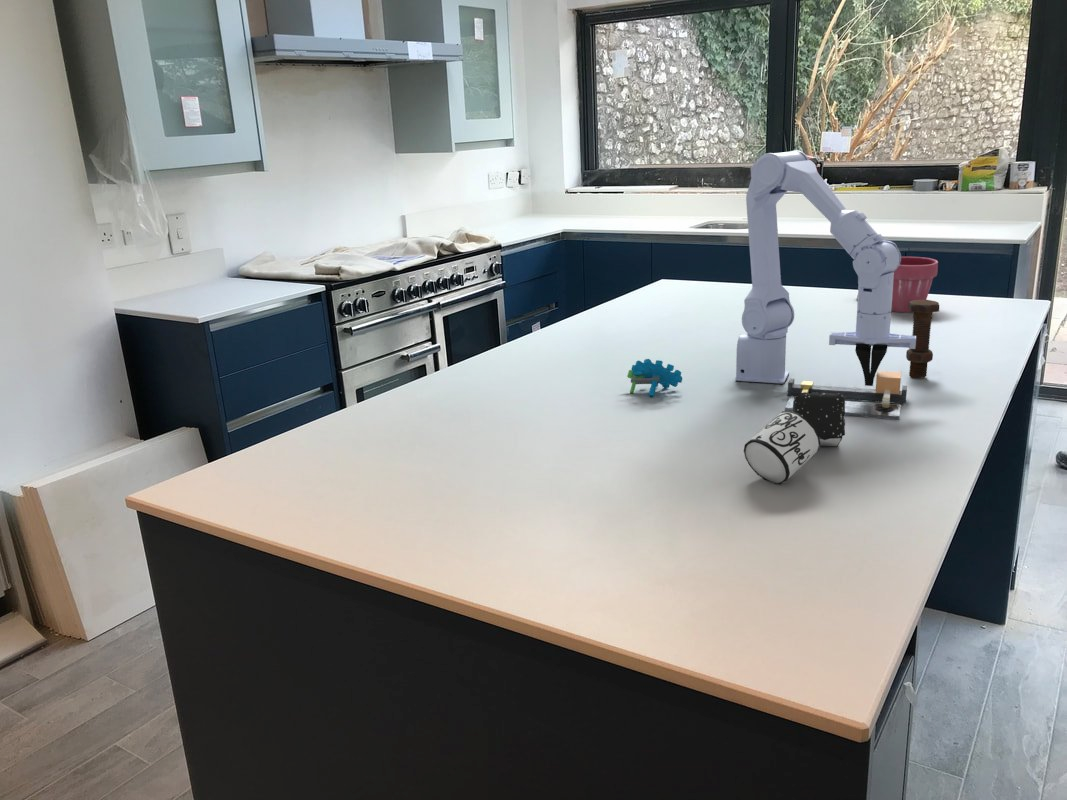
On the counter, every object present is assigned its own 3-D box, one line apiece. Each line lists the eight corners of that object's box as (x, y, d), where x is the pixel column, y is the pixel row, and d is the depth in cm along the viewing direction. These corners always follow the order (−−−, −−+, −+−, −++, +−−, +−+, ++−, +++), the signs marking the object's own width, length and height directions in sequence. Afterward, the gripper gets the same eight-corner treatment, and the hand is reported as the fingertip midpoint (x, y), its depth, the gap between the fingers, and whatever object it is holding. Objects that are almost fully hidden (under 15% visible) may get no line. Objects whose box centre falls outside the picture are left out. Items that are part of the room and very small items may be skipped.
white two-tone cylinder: (802, 499, 122) (805, 431, 119) (735, 485, 128) (736, 420, 125) (859, 442, 141) (863, 383, 138) (799, 432, 147) (801, 375, 144)
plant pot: (943, 313, 224) (948, 263, 220) (887, 316, 224) (891, 265, 220) (920, 302, 237) (924, 255, 233) (868, 304, 238) (871, 257, 234)
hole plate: (784, 410, 158) (784, 406, 157) (789, 400, 163) (790, 396, 163) (899, 419, 150) (899, 415, 150) (900, 408, 156) (900, 404, 155)
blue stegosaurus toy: (691, 381, 172) (670, 355, 165) (685, 408, 170) (663, 382, 163) (641, 382, 179) (619, 357, 171) (634, 408, 176) (612, 383, 169)
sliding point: (873, 407, 153) (874, 386, 152) (876, 390, 162) (877, 370, 161) (897, 409, 152) (899, 388, 151) (899, 392, 161) (901, 372, 160)
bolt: (934, 381, 169) (941, 305, 165) (906, 381, 170) (912, 305, 166) (928, 373, 175) (934, 299, 170) (901, 373, 176) (906, 299, 171)
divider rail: (782, 406, 160) (782, 392, 159) (789, 391, 168) (790, 378, 167) (904, 415, 152) (905, 401, 151) (906, 399, 160) (907, 385, 159)
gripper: (828, 314, 156) (825, 387, 160) (917, 317, 150) (911, 393, 154) (832, 306, 162) (829, 377, 166) (918, 309, 156) (912, 382, 160)
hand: (869, 384), depth 161 cm, fingers closed
